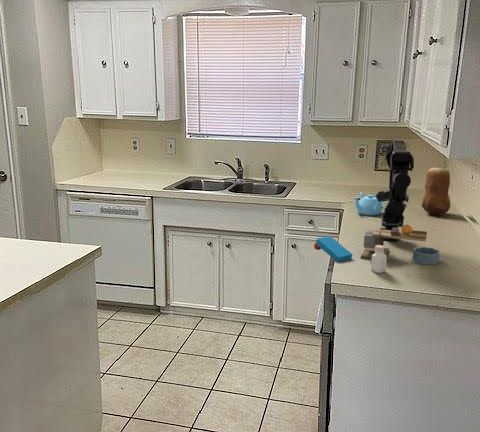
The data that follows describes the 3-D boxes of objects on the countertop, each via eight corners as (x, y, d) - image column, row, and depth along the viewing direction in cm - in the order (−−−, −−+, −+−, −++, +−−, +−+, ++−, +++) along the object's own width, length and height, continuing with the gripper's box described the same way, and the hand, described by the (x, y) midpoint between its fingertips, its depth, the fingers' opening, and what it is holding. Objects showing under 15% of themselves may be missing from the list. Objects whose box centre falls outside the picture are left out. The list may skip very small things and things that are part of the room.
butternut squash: (444, 211, 262) (448, 165, 256) (452, 217, 249) (457, 169, 243) (418, 211, 264) (421, 165, 258) (424, 217, 251) (428, 169, 245)
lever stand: (366, 248, 202) (367, 225, 200) (389, 250, 198) (390, 227, 196) (360, 258, 190) (361, 234, 187) (384, 261, 186) (385, 236, 184)
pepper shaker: (386, 271, 175) (387, 246, 173) (379, 274, 173) (380, 248, 171) (377, 268, 178) (378, 243, 176) (370, 270, 176) (371, 245, 174)
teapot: (386, 212, 264) (387, 193, 261) (380, 218, 251) (381, 198, 248) (359, 209, 270) (360, 191, 268) (352, 215, 257) (353, 196, 255)
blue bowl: (413, 254, 193) (414, 245, 192) (439, 257, 189) (440, 248, 188) (411, 262, 184) (411, 253, 183) (438, 265, 180) (439, 256, 179)
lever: (348, 269, 192) (321, 245, 205) (352, 254, 188) (324, 231, 202) (335, 272, 188) (308, 248, 202) (339, 257, 185) (311, 234, 199)
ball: (401, 232, 190) (402, 223, 189) (412, 234, 188) (413, 224, 187) (400, 235, 186) (401, 225, 185) (411, 236, 185) (412, 226, 184)
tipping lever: (367, 241, 199) (368, 224, 197) (425, 247, 190) (427, 229, 188) (363, 247, 191) (364, 229, 189) (424, 254, 182) (425, 235, 180)
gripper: (381, 178, 198) (379, 215, 202) (374, 186, 182) (372, 226, 186) (410, 180, 194) (407, 218, 198) (405, 188, 177) (402, 229, 181)
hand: (396, 222), depth 191 cm, fingers closed
